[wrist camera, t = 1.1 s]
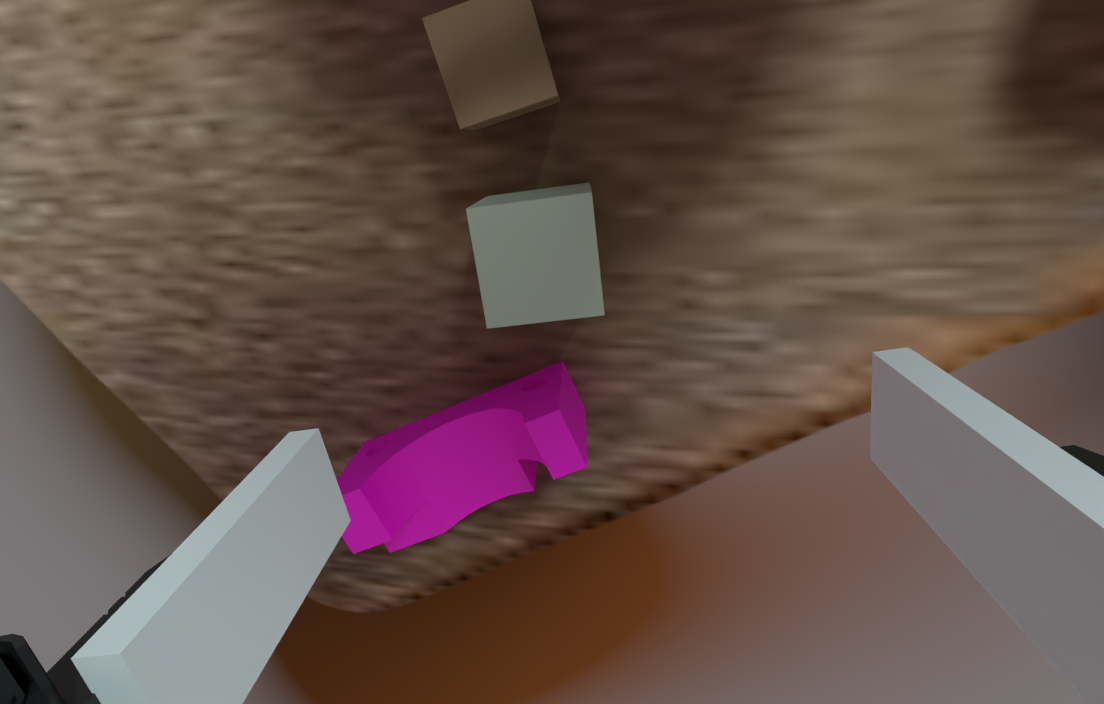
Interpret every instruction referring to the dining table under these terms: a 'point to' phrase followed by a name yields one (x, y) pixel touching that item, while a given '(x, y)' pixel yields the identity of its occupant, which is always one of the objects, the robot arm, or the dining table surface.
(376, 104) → the dining table surface
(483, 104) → the walnut block
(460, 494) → the toy block
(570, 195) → the sage block
